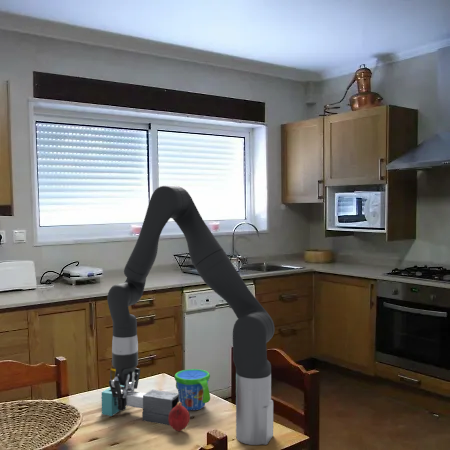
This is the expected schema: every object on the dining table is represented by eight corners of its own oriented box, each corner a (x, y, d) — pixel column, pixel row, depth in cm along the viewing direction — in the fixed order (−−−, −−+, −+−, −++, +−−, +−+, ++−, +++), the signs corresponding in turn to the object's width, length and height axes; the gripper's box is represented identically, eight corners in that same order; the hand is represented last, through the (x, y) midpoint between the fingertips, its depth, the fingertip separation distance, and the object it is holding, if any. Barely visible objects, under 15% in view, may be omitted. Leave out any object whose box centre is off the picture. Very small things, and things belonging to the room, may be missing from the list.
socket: (125, 407, 154) (124, 385, 154) (111, 416, 148) (111, 393, 148) (115, 405, 156) (115, 384, 155) (101, 414, 149) (101, 392, 149)
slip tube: (156, 405, 148) (156, 394, 148) (150, 410, 145) (150, 398, 145) (115, 399, 153) (115, 388, 153) (109, 403, 150) (109, 392, 150)
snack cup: (166, 401, 159) (166, 369, 158) (196, 395, 164) (195, 364, 164) (188, 419, 145) (188, 384, 145) (220, 412, 151) (220, 378, 150)
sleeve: (180, 417, 147) (179, 393, 147) (170, 425, 141) (170, 400, 141) (152, 412, 150) (152, 389, 150) (142, 420, 145) (142, 396, 144)
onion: (186, 437, 134) (186, 407, 134) (165, 435, 135) (165, 405, 135) (192, 427, 140) (192, 399, 139) (172, 426, 141) (172, 397, 141)
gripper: (122, 357, 142) (123, 418, 142) (148, 345, 155) (148, 400, 155) (100, 355, 144) (100, 414, 145) (127, 342, 157) (127, 397, 158)
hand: (125, 407), depth 150 cm, fingers closed on slip tube, 3 cm apart
